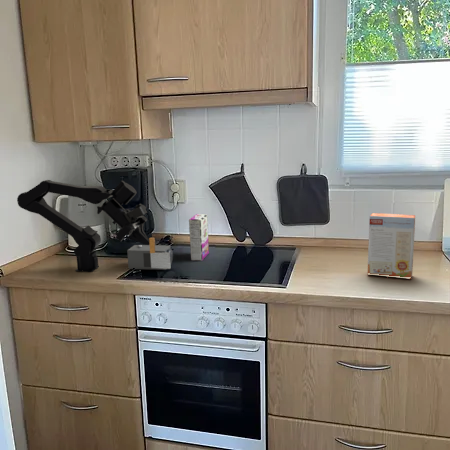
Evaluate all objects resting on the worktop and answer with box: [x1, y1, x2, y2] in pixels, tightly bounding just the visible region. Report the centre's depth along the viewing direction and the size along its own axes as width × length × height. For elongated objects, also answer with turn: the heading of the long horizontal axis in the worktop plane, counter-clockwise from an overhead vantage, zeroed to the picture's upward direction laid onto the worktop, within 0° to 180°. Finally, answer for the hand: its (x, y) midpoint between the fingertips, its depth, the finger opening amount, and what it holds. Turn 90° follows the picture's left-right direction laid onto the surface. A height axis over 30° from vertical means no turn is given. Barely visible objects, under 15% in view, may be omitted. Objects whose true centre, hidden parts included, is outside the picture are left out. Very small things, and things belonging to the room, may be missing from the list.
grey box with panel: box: [126, 244, 174, 271], centre depth 174 cm, size 15×8×8 cm, turn 81°
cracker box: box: [367, 212, 416, 278], centre depth 157 cm, size 14×6×21 cm, turn 65°
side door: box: [148, 237, 172, 270], centre depth 168 cm, size 7×1×11 cm, turn 81°
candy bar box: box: [188, 213, 210, 262], centre depth 185 cm, size 11×5×16 cm, turn 168°
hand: (149, 244), depth 168 cm, fingers closed, pressing on side door
